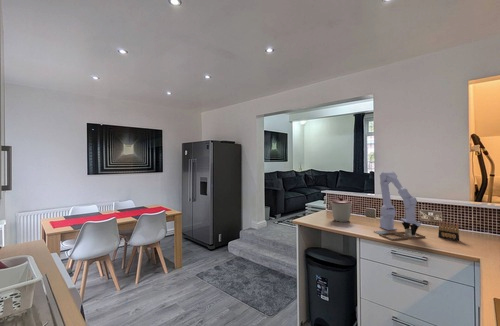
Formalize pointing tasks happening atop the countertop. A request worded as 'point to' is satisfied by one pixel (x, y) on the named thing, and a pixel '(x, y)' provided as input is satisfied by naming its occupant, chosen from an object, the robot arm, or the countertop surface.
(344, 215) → the canister
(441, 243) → the countertop surface
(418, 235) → the tray far
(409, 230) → the cube
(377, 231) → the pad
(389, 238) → the tray near
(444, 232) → the ammunition clip
